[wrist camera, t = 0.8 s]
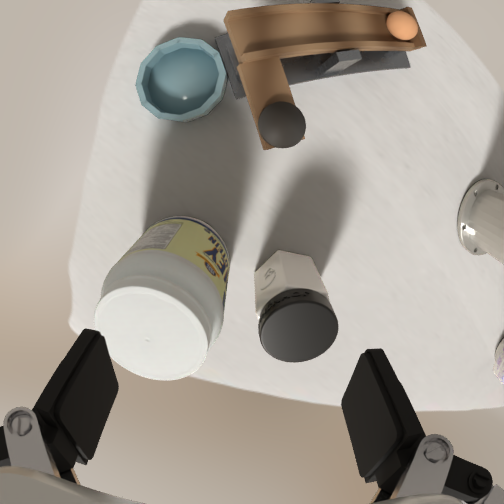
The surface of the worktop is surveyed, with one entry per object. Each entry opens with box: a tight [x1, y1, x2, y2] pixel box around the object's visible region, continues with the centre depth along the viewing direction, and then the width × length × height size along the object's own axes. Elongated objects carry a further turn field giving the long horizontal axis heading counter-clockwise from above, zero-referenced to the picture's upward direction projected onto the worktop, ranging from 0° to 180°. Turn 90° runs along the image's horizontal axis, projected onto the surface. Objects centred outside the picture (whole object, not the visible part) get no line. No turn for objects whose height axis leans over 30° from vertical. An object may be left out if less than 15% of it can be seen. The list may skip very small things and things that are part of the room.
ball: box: [386, 11, 418, 40], centre depth 21 cm, size 4×4×4 cm
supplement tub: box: [94, 216, 230, 380], centre depth 31 cm, size 12×12×17 cm
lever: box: [224, 3, 426, 150], centre depth 22 cm, size 22×13×3 cm, turn 107°
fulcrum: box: [215, 0, 410, 99], centre depth 24 cm, size 23×8×8 cm, turn 107°
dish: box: [136, 37, 228, 122], centre depth 28 cm, size 10×10×3 cm
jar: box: [254, 250, 338, 362], centre depth 34 cm, size 9×8×12 cm
